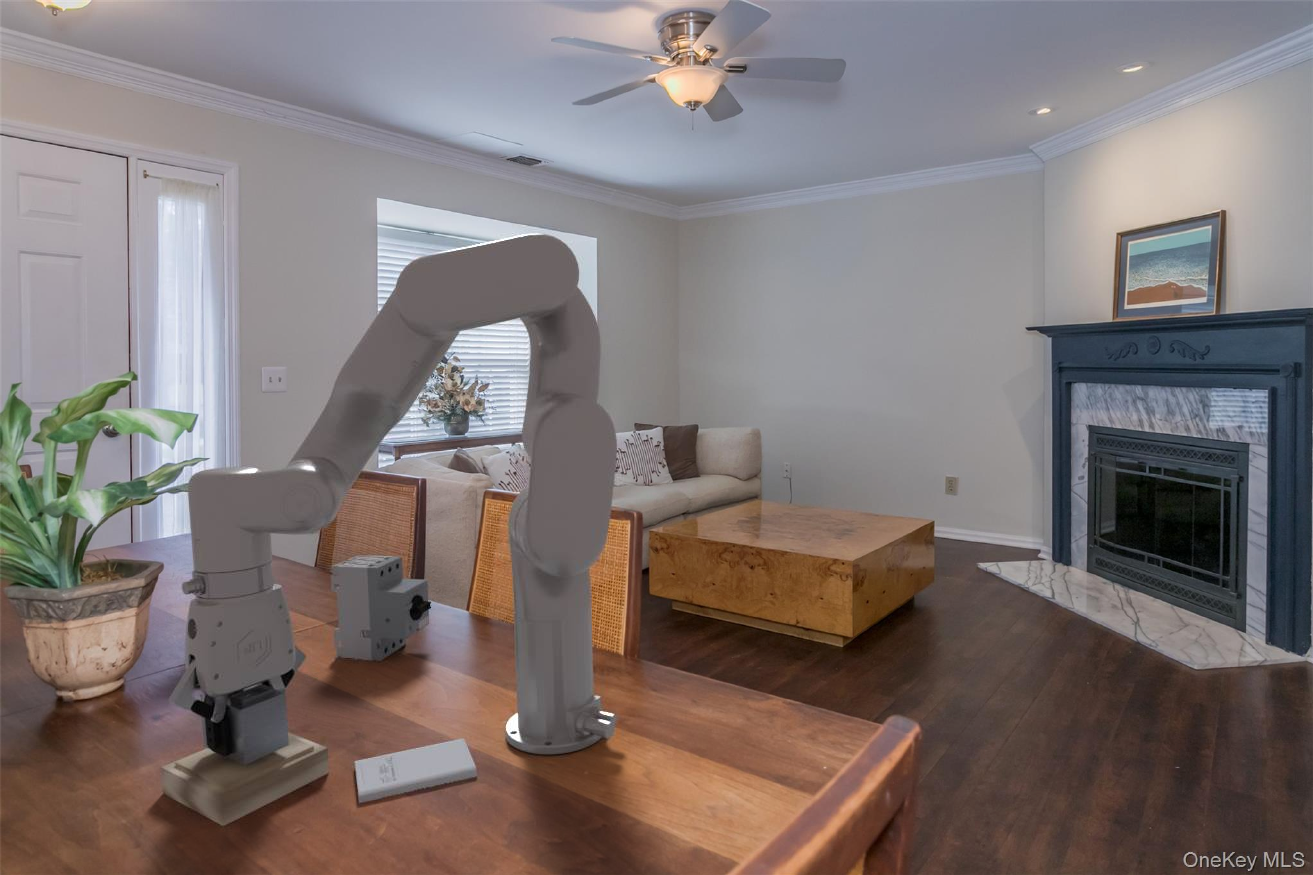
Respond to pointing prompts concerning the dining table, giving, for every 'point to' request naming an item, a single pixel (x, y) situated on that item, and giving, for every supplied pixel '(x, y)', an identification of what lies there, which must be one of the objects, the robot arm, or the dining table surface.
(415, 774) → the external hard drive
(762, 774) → the dining table surface
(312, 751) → the stand
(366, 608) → the circuit breaker
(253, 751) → the housing
